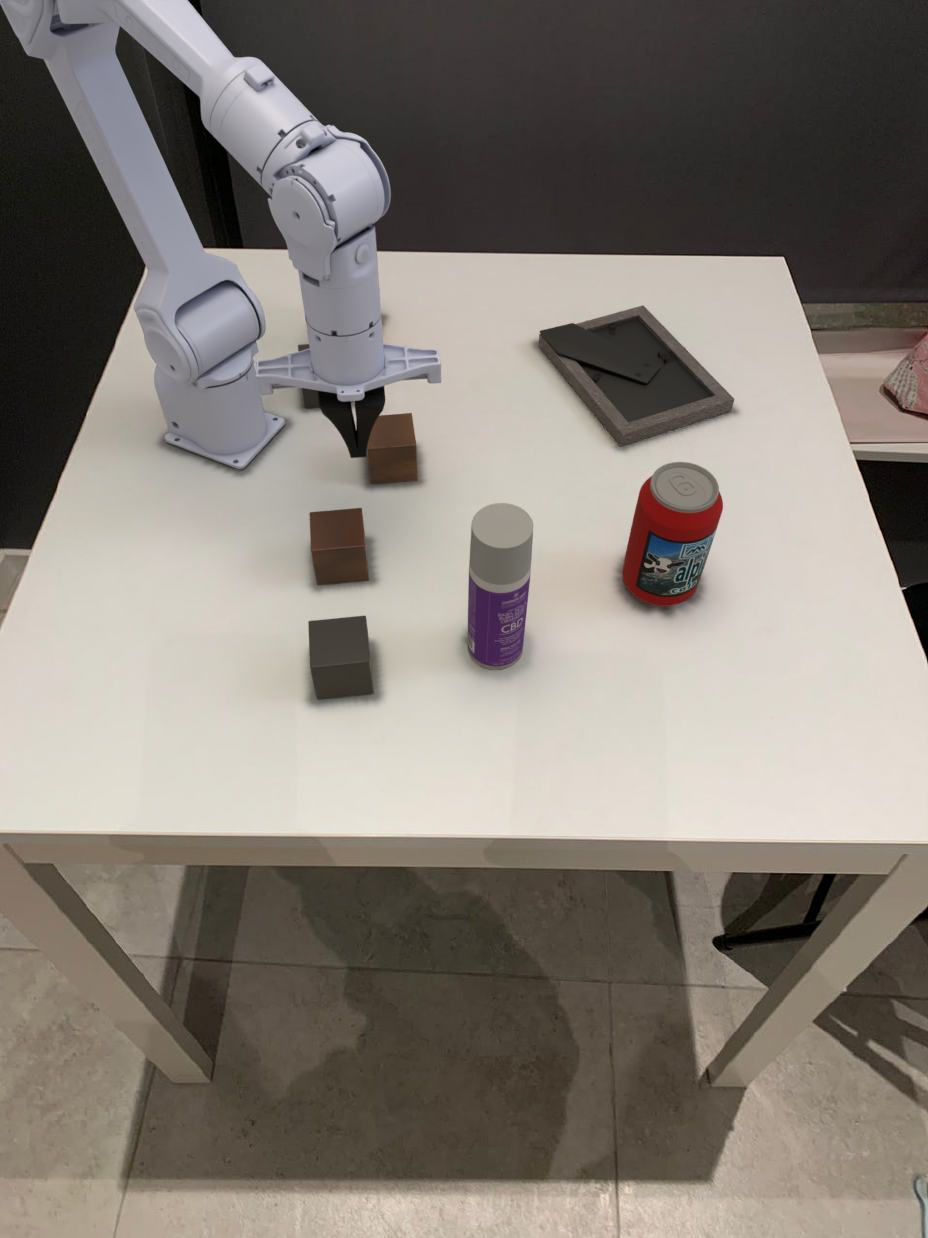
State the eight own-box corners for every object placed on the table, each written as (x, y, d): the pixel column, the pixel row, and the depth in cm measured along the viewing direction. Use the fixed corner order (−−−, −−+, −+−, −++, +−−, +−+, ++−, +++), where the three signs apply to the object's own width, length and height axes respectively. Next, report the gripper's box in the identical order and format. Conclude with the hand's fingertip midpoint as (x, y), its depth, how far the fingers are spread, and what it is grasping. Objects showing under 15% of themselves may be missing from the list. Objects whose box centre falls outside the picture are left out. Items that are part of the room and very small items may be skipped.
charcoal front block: (316, 700, 75) (309, 667, 71) (314, 653, 78) (308, 620, 74) (373, 694, 76) (369, 661, 72) (369, 648, 78) (365, 614, 75)
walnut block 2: (370, 484, 90) (367, 448, 86) (367, 452, 93) (363, 416, 89) (417, 480, 90) (416, 444, 87) (413, 448, 93) (411, 412, 90)
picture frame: (538, 345, 104) (620, 446, 94) (539, 330, 102) (623, 431, 92) (640, 316, 107) (731, 410, 97) (643, 301, 105) (735, 395, 96)
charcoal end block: (304, 408, 97) (299, 372, 93) (303, 380, 100) (298, 344, 96) (349, 405, 97) (345, 368, 94) (346, 377, 100) (342, 340, 96)
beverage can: (648, 622, 80) (674, 527, 71) (605, 569, 84) (625, 471, 74) (712, 594, 82) (746, 498, 73) (667, 543, 86) (694, 445, 76)
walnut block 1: (317, 585, 82) (310, 550, 79) (315, 546, 85) (309, 511, 82) (369, 580, 83) (365, 546, 79) (365, 542, 86) (361, 507, 82)
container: (504, 679, 77) (514, 559, 65) (456, 654, 78) (457, 532, 66) (532, 640, 79) (547, 517, 67) (485, 616, 80) (491, 492, 68)
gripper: (244, 352, 67) (273, 488, 78) (444, 339, 68) (446, 475, 79) (246, 295, 71) (274, 432, 82) (435, 284, 72) (437, 420, 83)
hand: (358, 449), depth 81 cm, fingers closed
